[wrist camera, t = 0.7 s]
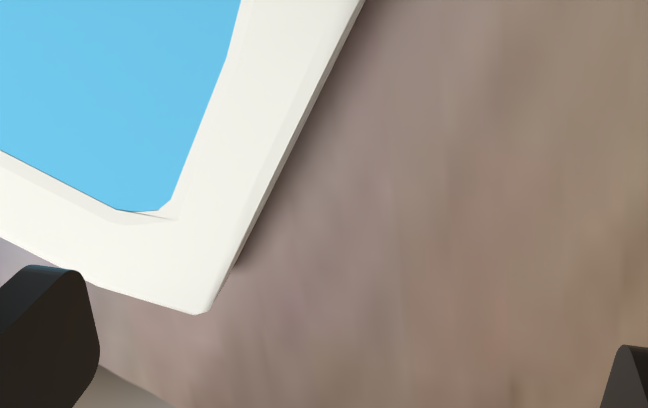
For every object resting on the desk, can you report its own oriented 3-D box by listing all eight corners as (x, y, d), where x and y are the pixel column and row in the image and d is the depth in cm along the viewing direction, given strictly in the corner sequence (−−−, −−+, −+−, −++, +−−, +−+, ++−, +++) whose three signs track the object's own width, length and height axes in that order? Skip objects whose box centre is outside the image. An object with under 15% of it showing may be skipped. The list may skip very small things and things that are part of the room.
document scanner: (-58, 130, 40) (-139, 169, 35) (18, -401, 27) (-95, -474, 21) (229, 277, 41) (193, 337, 36) (446, -163, 28) (442, -174, 22)
